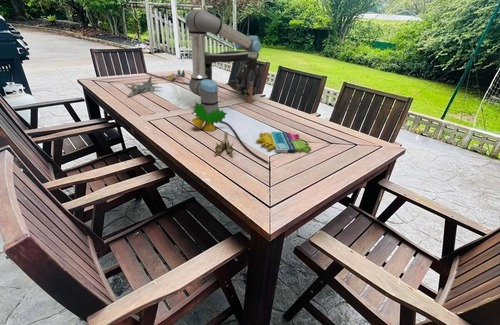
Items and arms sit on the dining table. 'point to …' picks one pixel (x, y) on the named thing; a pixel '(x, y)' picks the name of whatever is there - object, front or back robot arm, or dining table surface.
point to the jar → (250, 93)
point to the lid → (250, 83)
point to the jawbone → (224, 145)
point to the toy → (174, 76)
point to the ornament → (207, 117)
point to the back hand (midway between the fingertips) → (251, 94)
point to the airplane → (143, 87)
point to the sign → (283, 142)
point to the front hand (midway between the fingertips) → (250, 86)
